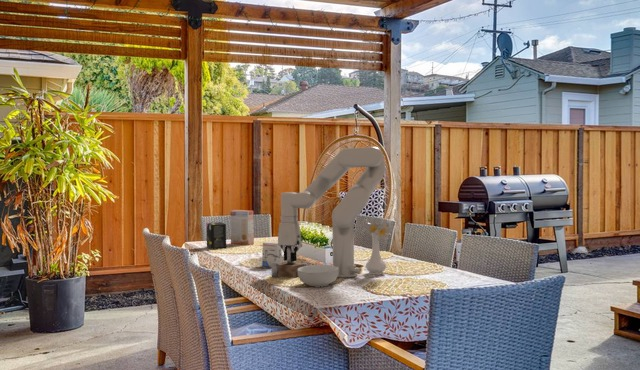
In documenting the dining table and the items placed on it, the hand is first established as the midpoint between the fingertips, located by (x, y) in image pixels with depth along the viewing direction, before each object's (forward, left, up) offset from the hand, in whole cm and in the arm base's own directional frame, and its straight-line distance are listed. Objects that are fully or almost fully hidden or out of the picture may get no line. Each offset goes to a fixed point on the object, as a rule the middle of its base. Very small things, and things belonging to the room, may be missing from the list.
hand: (290, 260), depth 266 cm
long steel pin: (0, 0, -6) cm, 6 cm away
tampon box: (+90, -41, -7) cm, 99 cm away
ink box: (+22, -13, -7) cm, 27 cm away
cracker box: (+88, -61, -7) cm, 107 cm away
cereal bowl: (-23, +10, -7) cm, 26 cm away
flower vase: (-31, -24, -7) cm, 40 cm away
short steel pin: (+3, +8, -7) cm, 10 cm away
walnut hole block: (0, 0, -7) cm, 7 cm away
